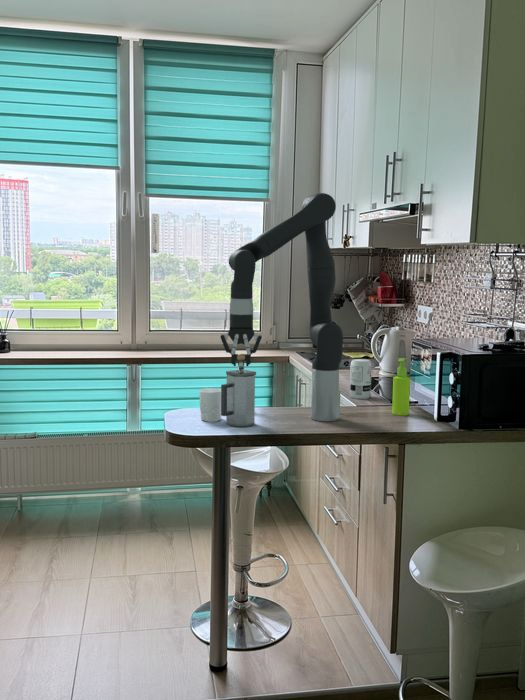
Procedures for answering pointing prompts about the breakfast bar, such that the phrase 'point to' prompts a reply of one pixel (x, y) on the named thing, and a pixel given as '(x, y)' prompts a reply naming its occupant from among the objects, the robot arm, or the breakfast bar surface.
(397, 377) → the soap dispenser
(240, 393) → the carafe
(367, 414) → the breakfast bar surface
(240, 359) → the plunger
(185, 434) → the breakfast bar surface
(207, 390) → the white cup
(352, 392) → the supplement can
